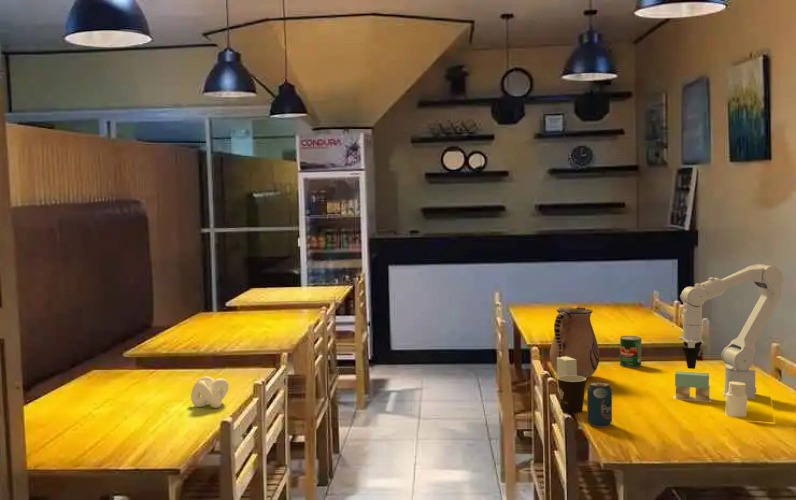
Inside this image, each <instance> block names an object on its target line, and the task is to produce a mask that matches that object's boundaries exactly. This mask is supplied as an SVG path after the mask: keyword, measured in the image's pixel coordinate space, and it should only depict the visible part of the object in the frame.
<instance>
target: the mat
mask: <svg viewBox="0 0 796 500" xmlns="http://www.w3.org/2000/svg"><path fill="white" fill-rule="evenodd" d="M672 399H673V400H678V399H677V398H676V394H673V398H672ZM679 400H684V401H695V402H702V401H701V400H696V395H693V396H692V395H690V397H689V399H679ZM712 400H713V397H709V401H703V402H707V403H712V402H713V401H712Z"/></svg>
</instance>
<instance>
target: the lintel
mask: <svg viewBox="0 0 796 500" xmlns="http://www.w3.org/2000/svg"><path fill="white" fill-rule="evenodd" d="M674 386H675V387H676V386H681V387H690V388H695V389H696V388H707V389H708V388H709V386H710V373H709V372H708V373H706V372H692V371H679V370H677V371H675V374H674Z"/></svg>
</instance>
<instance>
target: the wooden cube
mask: <svg viewBox="0 0 796 500" xmlns="http://www.w3.org/2000/svg"><path fill="white" fill-rule="evenodd" d="M710 387H711V386H710V385H709V388H708V389H707V388H695V396H696V400H701V401H700V402H704V401H709V398H710V392H711V391H710Z"/></svg>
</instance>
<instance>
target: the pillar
mask: <svg viewBox="0 0 796 500" xmlns="http://www.w3.org/2000/svg"><path fill="white" fill-rule="evenodd" d="M690 389H691V387H681V386H675V395H676V398H677V399H676V400H680V399H689V397H690V396H691V393H690V392H691V391H690Z"/></svg>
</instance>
